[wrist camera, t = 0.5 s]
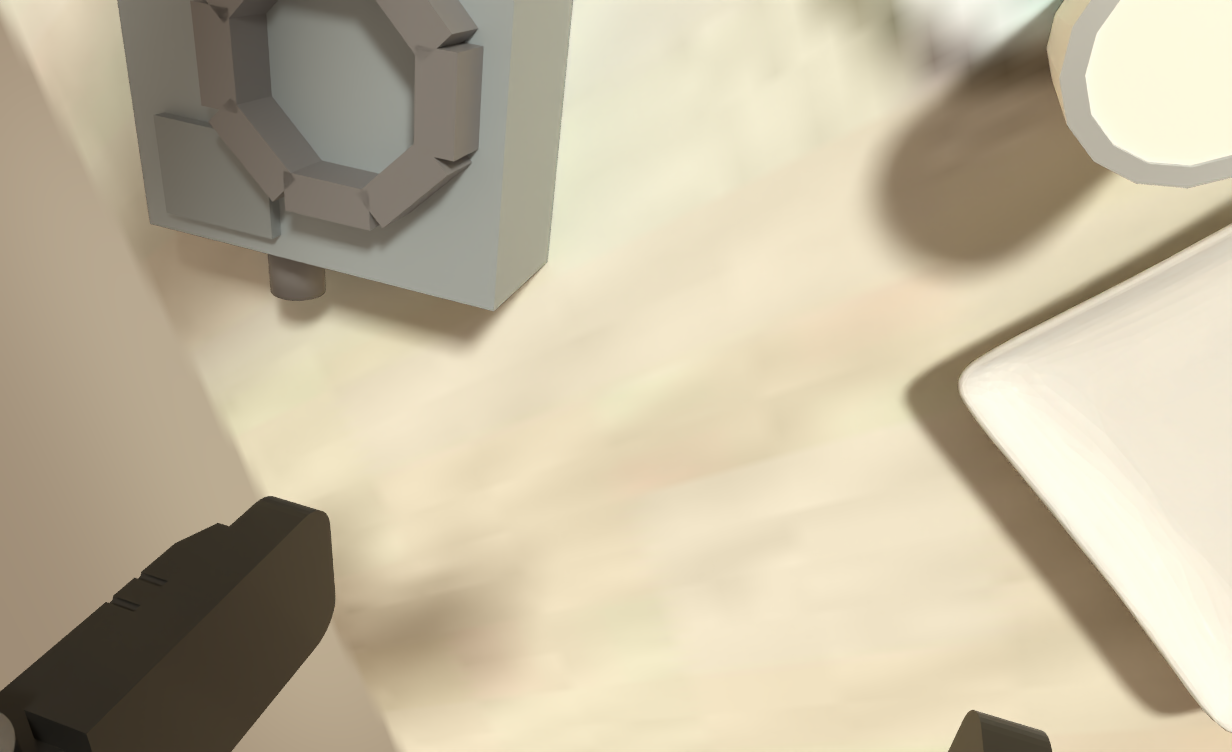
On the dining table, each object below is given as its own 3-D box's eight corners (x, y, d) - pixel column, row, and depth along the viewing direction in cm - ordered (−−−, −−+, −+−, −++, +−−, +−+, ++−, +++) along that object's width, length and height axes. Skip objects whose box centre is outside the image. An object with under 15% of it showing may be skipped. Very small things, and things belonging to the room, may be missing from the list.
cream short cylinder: (1023, 149, 31) (1053, 200, 25) (1030, -59, 28) (1066, -58, 22) (1246, 127, 29) (1338, 177, 23) (1278, -101, 26) (1393, -113, 20)
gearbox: (212, -144, 35) (45, -164, 28) (581, -86, 32) (494, -94, 25) (247, 246, 43) (124, 303, 36) (541, 320, 40) (468, 399, 33)
